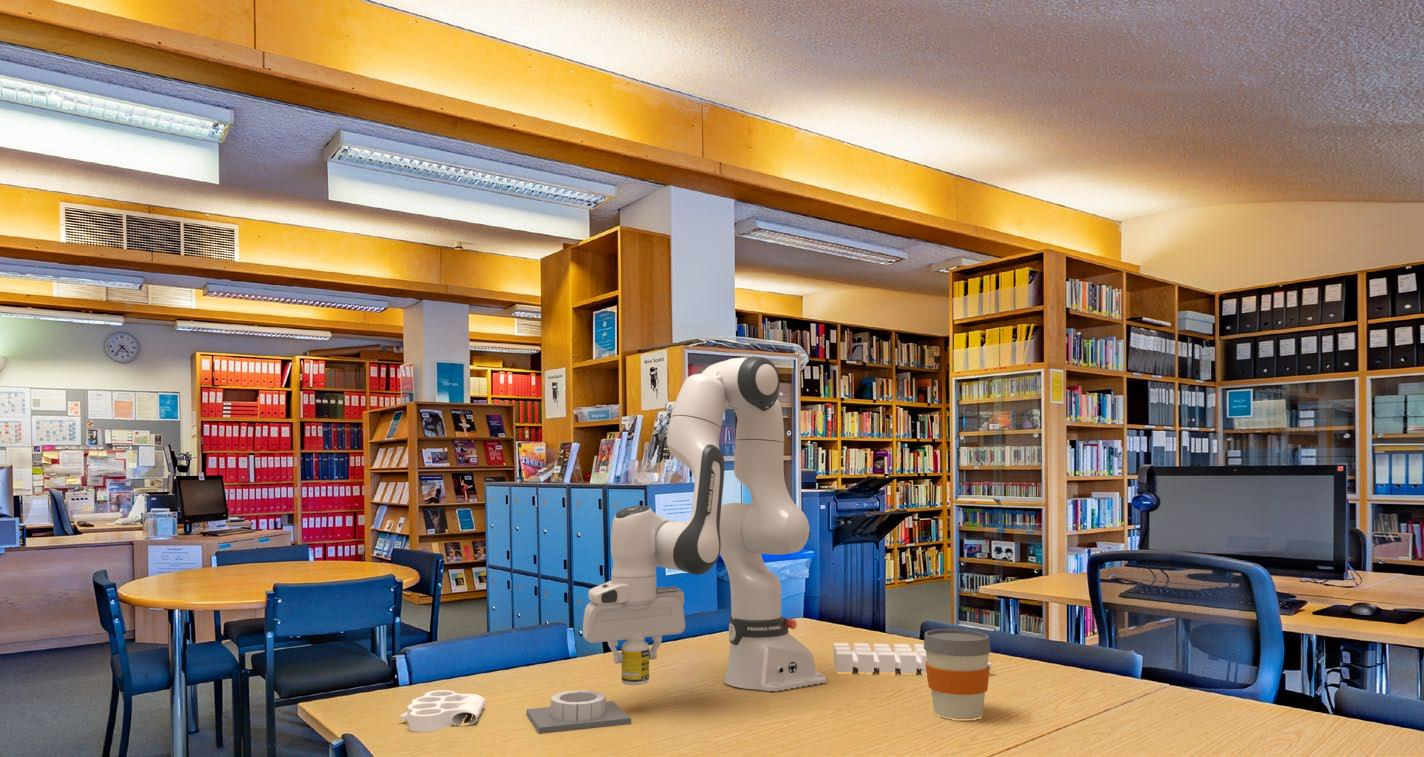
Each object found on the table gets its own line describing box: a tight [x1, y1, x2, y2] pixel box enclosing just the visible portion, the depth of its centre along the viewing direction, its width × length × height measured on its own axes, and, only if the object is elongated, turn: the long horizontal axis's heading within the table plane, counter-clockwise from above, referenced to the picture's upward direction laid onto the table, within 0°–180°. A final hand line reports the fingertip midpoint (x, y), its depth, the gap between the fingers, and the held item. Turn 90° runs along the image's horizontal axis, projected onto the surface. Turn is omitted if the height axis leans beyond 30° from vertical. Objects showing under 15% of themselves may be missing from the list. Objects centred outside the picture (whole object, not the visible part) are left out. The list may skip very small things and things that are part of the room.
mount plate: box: [526, 689, 632, 734], centre depth 170 cm, size 17×13×4 cm
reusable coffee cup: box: [923, 628, 992, 719], centre depth 174 cm, size 13×13×15 cm
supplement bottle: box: [621, 633, 650, 686], centre depth 177 cm, size 5×5×10 cm
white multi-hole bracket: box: [398, 689, 486, 733], centre depth 170 cm, size 3×18×15 cm
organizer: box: [833, 642, 993, 673], centre depth 211 cm, size 13×5×35 cm
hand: (635, 660), depth 177 cm, fingers closed on supplement bottle, 5 cm apart
